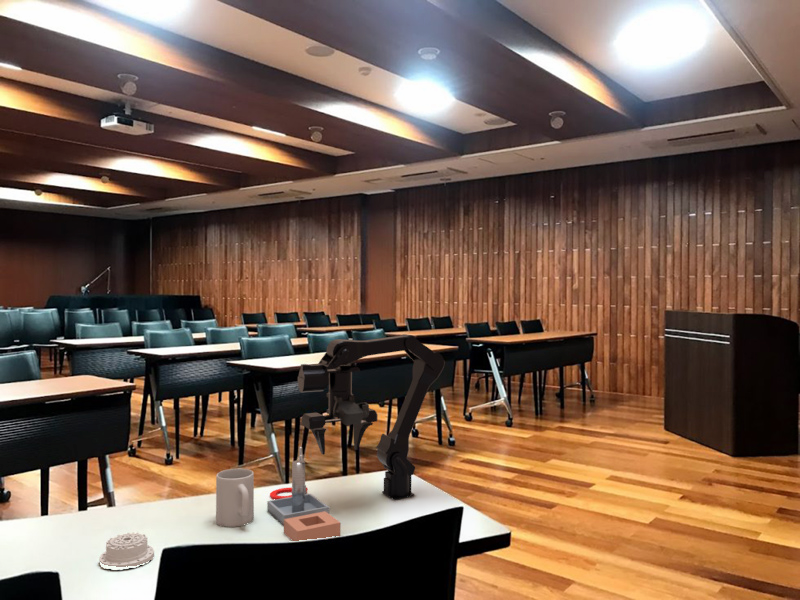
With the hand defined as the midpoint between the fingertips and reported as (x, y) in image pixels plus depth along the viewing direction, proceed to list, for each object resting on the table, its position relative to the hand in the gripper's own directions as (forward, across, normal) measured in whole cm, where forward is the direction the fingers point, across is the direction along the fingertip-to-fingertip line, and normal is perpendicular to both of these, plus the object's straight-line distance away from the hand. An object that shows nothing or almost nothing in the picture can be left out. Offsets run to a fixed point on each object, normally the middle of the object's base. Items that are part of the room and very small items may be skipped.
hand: (339, 451), depth 159 cm
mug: (+13, -26, 0) cm, 29 cm away
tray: (+13, -12, -2) cm, 18 cm away
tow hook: (+13, -9, +12) cm, 20 cm away
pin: (+12, -12, -2) cm, 17 cm away
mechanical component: (+14, -51, -8) cm, 53 cm away
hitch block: (+13, -14, -15) cm, 24 cm away
